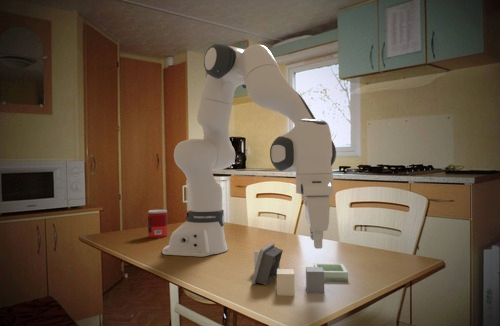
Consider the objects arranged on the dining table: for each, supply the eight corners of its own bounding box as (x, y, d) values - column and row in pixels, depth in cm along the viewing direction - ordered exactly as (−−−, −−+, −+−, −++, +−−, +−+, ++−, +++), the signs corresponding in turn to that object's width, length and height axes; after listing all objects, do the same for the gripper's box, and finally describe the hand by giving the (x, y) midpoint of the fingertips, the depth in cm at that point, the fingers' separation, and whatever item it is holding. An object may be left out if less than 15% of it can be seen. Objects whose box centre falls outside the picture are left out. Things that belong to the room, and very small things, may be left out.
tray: (316, 280, 96) (316, 272, 96) (313, 271, 104) (313, 263, 104) (348, 280, 96) (347, 272, 96) (342, 271, 104) (342, 263, 104)
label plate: (254, 272, 104) (254, 251, 104) (254, 272, 105) (254, 250, 105) (279, 273, 103) (279, 251, 103) (279, 272, 104) (279, 250, 104)
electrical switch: (263, 274, 102) (266, 241, 102) (281, 278, 100) (284, 244, 100) (250, 285, 94) (253, 248, 93) (270, 289, 92) (272, 252, 91)
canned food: (171, 235, 159) (170, 210, 159) (157, 239, 152) (156, 212, 152) (158, 234, 163) (158, 209, 163) (144, 237, 156) (143, 211, 156)
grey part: (307, 292, 88) (306, 271, 88) (306, 287, 92) (305, 266, 92) (324, 293, 87) (324, 271, 87) (322, 287, 91) (322, 266, 91)
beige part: (277, 295, 86) (276, 273, 86) (277, 289, 90) (277, 268, 90) (294, 295, 86) (294, 274, 86) (294, 289, 90) (293, 269, 90)
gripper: (299, 183, 100) (300, 235, 100) (303, 188, 80) (305, 253, 79) (322, 183, 99) (324, 235, 99) (333, 188, 79) (335, 253, 79)
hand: (316, 243), depth 89 cm, fingers open, 8 cm apart
